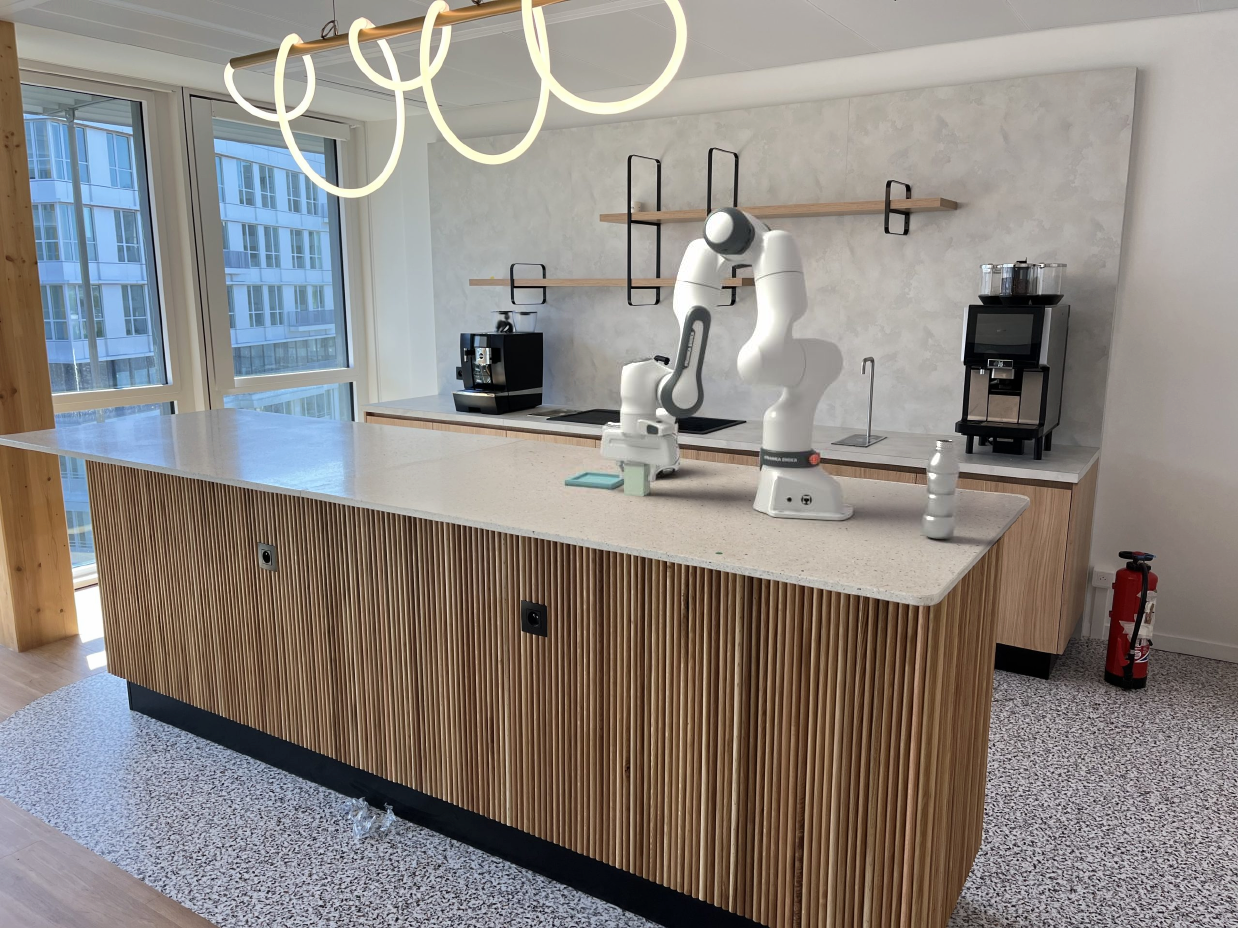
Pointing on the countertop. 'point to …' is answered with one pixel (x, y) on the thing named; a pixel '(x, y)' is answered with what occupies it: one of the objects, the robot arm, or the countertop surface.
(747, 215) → the robot arm
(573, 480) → the tray
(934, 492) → the plastic bottle
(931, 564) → the countertop surface
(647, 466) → the tea tin
